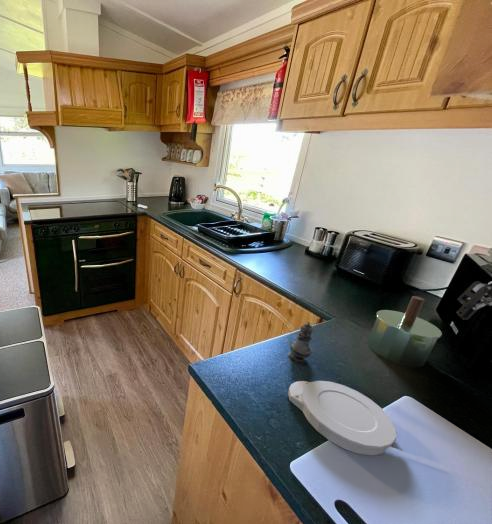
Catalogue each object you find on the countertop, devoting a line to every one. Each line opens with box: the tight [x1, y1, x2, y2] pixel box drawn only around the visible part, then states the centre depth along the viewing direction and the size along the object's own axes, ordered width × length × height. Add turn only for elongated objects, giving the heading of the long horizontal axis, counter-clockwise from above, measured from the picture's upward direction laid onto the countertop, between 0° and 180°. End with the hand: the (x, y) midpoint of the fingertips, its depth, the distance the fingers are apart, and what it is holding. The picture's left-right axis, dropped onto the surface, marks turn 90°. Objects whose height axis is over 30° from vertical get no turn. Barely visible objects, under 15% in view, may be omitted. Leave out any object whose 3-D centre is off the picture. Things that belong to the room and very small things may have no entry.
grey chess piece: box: [287, 321, 314, 365], centre depth 81 cm, size 6×6×12 cm
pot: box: [366, 317, 438, 368], centre depth 86 cm, size 14×19×10 cm
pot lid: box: [375, 295, 443, 339], centre depth 83 cm, size 15×15×9 cm
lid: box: [287, 380, 397, 456], centre depth 64 cm, size 17×20×3 cm
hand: (481, 316), depth 67 cm, fingers open, 8 cm apart
